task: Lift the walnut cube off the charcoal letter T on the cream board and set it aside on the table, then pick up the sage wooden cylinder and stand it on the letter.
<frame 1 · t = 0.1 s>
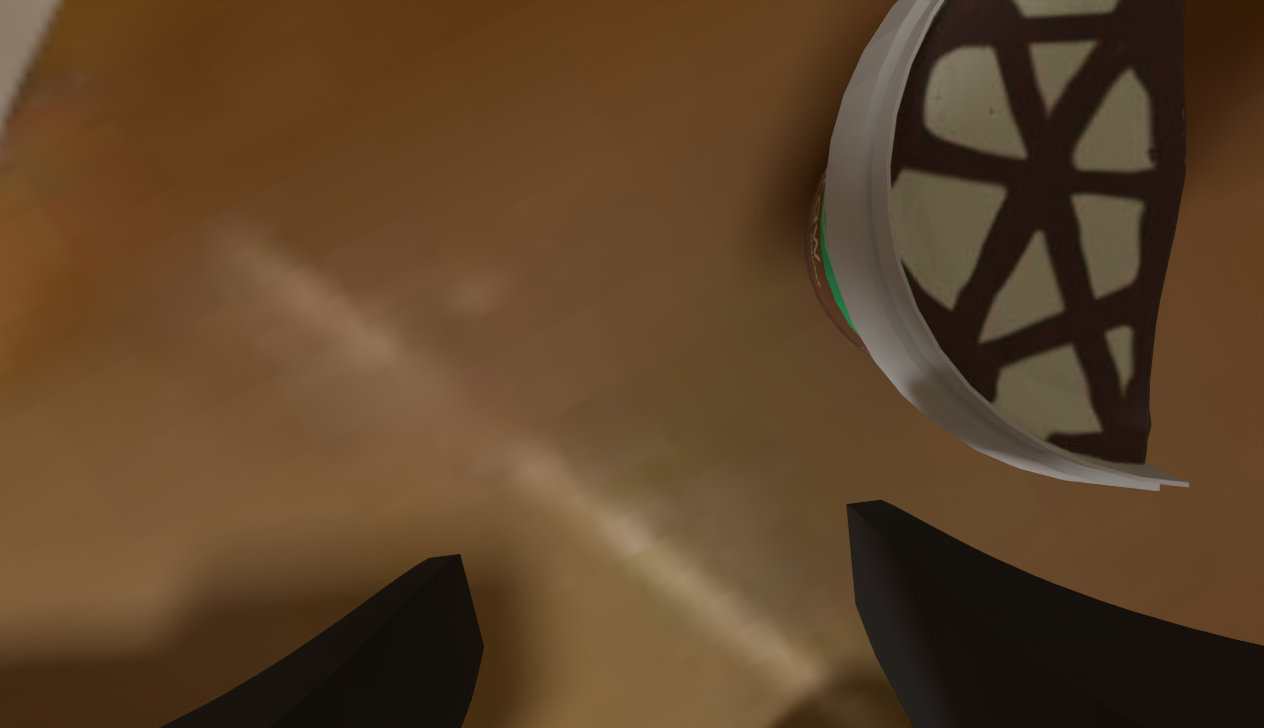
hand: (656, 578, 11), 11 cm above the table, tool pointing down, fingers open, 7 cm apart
food container: (859, 236, 21), on the table
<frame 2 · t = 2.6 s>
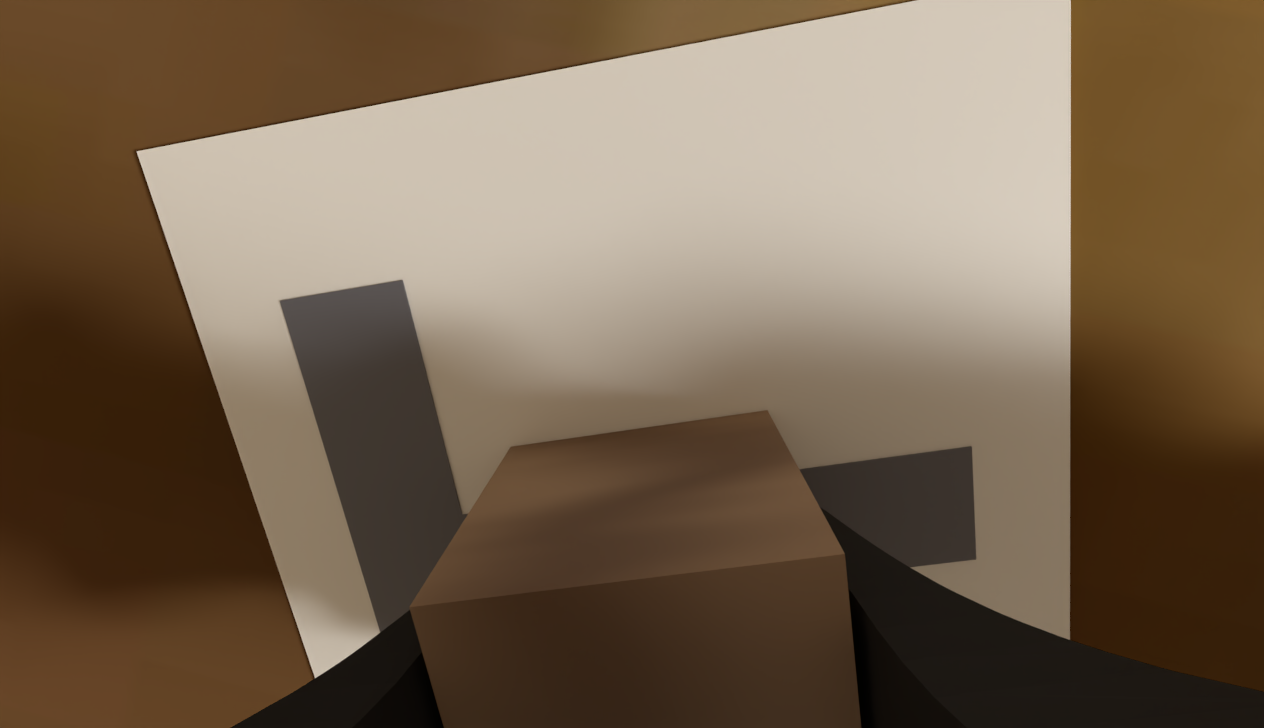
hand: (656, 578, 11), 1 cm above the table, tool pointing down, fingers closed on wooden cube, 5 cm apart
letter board: (657, 538, 13), on the table
wooden cube: (656, 544, 12), resting on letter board, touching gripper
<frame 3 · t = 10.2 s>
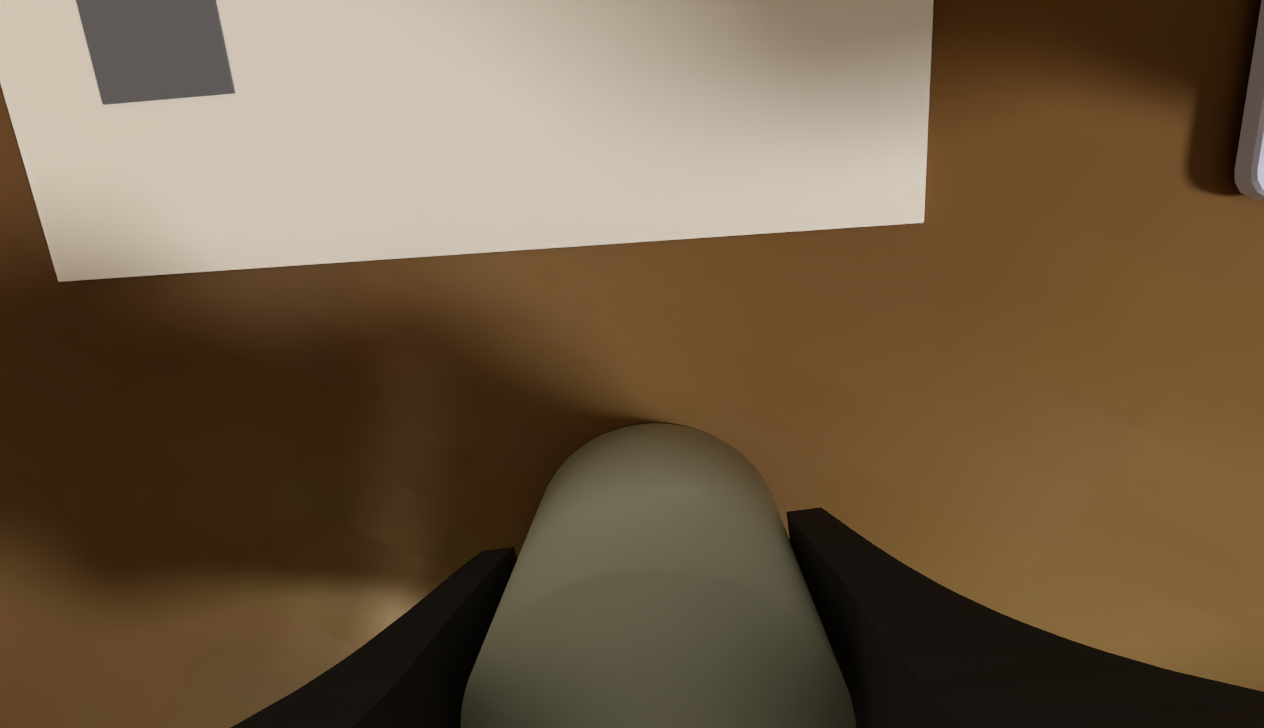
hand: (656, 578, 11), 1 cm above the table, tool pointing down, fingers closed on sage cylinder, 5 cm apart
sage cylinder: (657, 538, 13), on the table, touching gripper
when the fingers open (3 cm above the table, at t = 14.1 s): sage cylinder drops 1 cm, resting on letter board.
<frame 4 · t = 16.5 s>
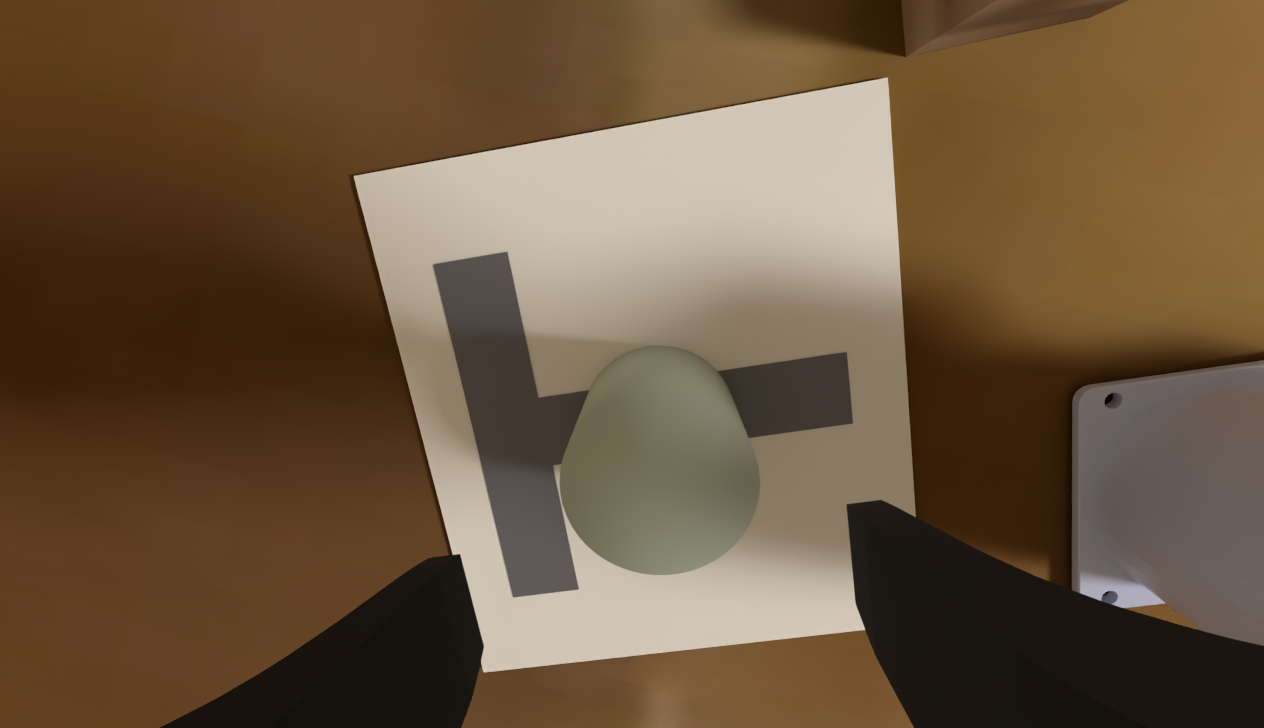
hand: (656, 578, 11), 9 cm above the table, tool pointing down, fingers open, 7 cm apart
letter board: (658, 413, 20), on the table
sage cylinder: (659, 420, 20), resting on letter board
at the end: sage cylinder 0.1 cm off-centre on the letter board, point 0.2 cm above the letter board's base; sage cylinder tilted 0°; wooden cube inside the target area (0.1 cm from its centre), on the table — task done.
